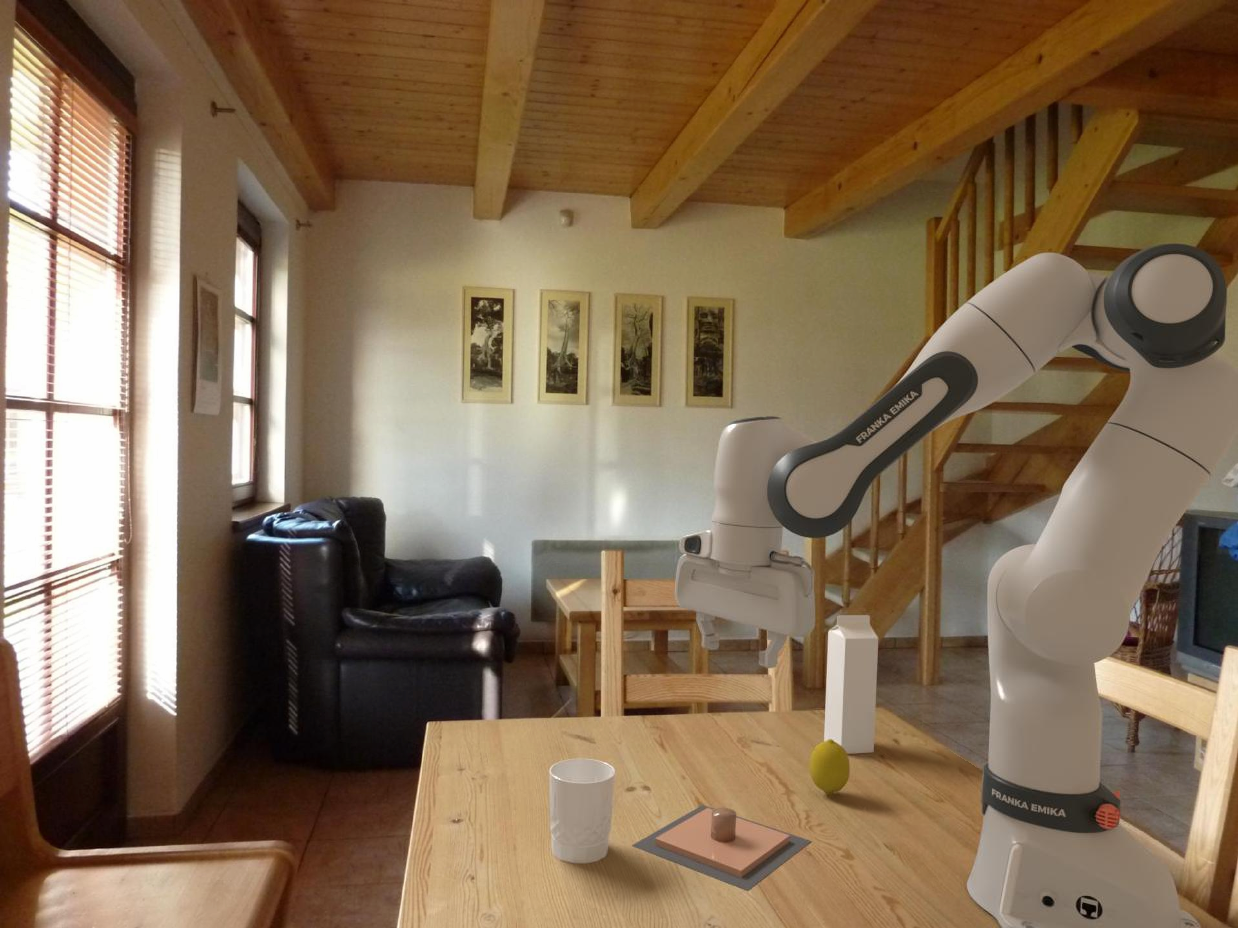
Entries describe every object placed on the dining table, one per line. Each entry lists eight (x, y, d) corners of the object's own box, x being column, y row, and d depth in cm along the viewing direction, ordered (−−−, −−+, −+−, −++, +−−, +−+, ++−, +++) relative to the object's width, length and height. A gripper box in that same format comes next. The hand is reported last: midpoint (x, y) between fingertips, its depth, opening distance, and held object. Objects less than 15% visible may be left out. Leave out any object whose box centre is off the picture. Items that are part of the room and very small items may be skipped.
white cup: (557, 834, 109) (559, 755, 108) (618, 842, 107) (621, 761, 107) (538, 863, 101) (541, 778, 101) (604, 872, 99) (607, 786, 99)
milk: (823, 742, 146) (827, 611, 146) (856, 740, 148) (860, 611, 147) (841, 754, 140) (845, 619, 140) (875, 752, 142) (879, 618, 141)
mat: (811, 844, 108) (811, 840, 108) (747, 893, 96) (747, 890, 96) (702, 807, 118) (702, 804, 118) (631, 848, 105) (631, 845, 105)
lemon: (849, 804, 121) (852, 747, 120) (808, 800, 122) (811, 743, 122) (847, 789, 126) (849, 735, 126) (808, 785, 127) (810, 731, 127)
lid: (789, 841, 108) (790, 811, 108) (740, 877, 98) (742, 844, 98) (707, 813, 115) (708, 785, 115) (654, 844, 106) (655, 813, 106)
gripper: (830, 557, 102) (822, 674, 102) (703, 535, 117) (697, 637, 118) (797, 560, 98) (788, 681, 98) (670, 537, 113) (663, 642, 114)
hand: (737, 657), depth 108 cm, fingers open, 8 cm apart
